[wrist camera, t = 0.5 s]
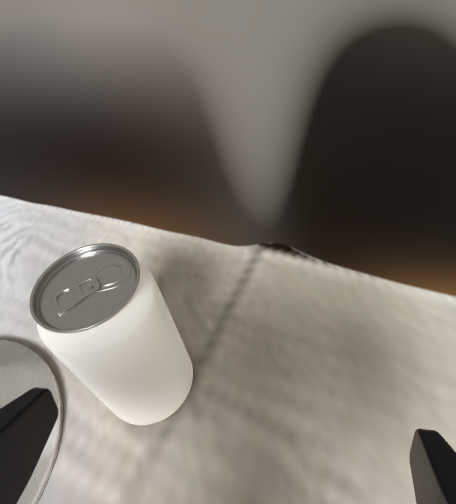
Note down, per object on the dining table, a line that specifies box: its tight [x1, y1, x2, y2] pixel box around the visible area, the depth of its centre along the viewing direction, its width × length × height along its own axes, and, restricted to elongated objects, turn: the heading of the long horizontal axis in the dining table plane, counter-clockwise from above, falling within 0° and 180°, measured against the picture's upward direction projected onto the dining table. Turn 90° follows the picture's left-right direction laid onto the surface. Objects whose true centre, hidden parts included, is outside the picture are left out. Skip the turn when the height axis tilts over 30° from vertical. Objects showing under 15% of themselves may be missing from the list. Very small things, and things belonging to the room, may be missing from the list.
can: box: [30, 244, 193, 425], centre depth 23 cm, size 6×6×12 cm
